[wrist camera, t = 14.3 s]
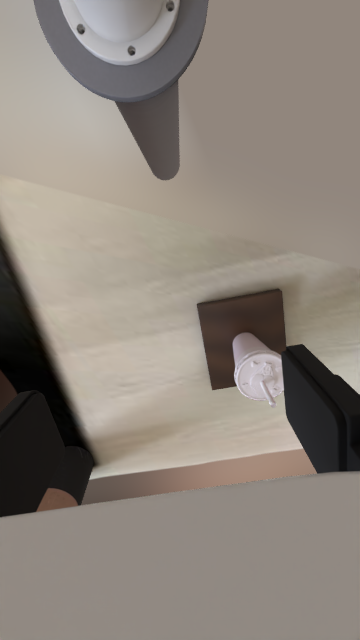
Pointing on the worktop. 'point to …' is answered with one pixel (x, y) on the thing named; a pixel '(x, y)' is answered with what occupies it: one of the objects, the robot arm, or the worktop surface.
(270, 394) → the smoothie
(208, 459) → the worktop surface
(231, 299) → the walnut board
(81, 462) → the travel mug
